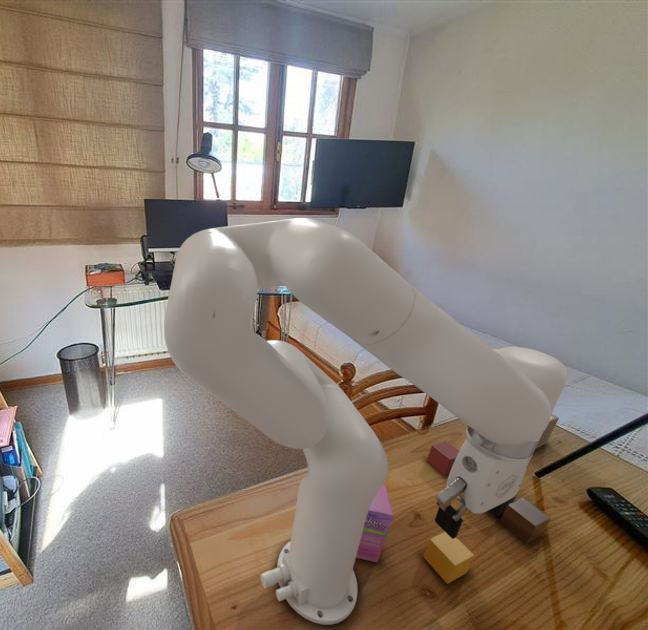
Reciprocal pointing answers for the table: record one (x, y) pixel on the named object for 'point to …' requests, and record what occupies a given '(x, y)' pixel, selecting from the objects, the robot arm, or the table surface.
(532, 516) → the cube
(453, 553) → the letter block
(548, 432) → the ink box
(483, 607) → the table surface
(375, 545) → the box
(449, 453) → the cube
